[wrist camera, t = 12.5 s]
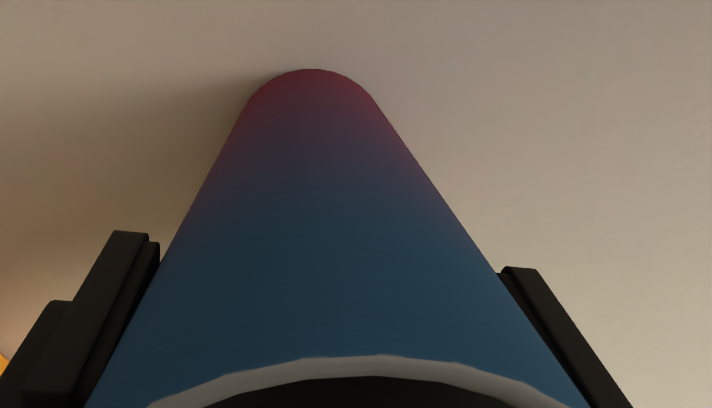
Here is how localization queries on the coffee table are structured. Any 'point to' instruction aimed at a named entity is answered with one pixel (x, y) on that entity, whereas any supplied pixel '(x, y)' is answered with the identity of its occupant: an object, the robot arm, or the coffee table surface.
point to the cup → (326, 279)
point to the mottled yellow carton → (3, 364)
